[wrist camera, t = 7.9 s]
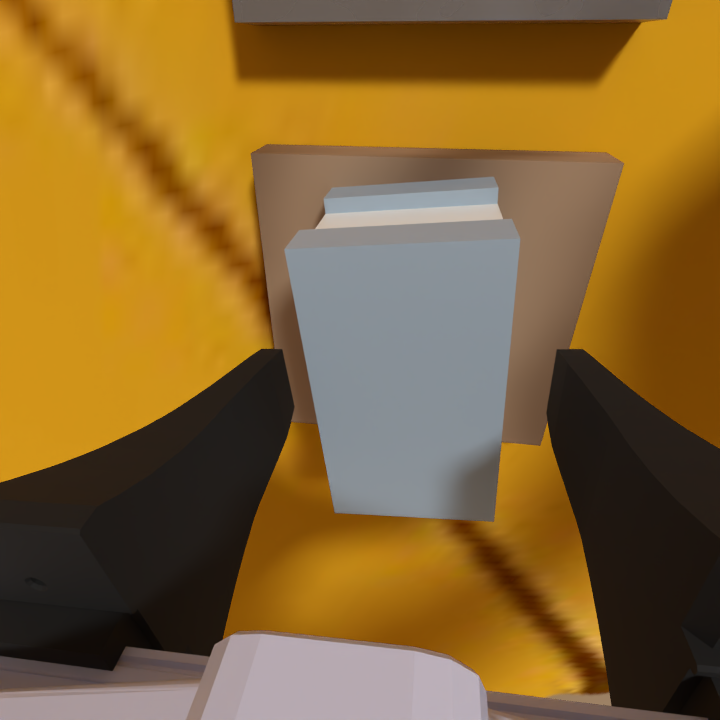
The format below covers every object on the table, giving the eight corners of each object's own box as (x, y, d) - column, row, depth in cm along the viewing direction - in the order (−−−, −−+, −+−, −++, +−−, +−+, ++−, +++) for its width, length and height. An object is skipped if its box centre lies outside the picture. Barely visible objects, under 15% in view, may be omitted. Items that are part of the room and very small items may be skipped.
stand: (606, 152, 13) (623, 163, 12) (533, 419, 19) (540, 445, 18) (267, 144, 14) (250, 153, 13) (293, 397, 20) (283, 420, 19)
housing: (480, 406, 17) (494, 521, 13) (358, 405, 18) (334, 513, 14) (493, 176, 13) (520, 238, 8) (332, 187, 13) (284, 249, 9)
